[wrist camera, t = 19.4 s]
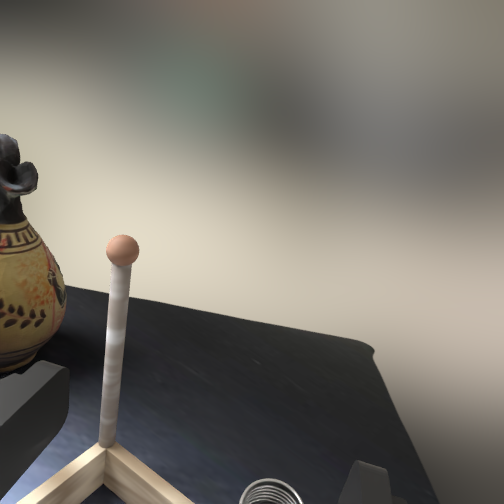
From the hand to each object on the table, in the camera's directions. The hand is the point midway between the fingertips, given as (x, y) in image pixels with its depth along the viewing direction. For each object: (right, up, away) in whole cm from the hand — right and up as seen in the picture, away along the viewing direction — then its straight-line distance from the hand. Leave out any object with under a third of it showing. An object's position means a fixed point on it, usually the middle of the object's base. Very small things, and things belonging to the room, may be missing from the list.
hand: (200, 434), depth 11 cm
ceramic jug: (-34, -9, +47) cm, 59 cm away
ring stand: (-13, -22, +25) cm, 36 cm away
